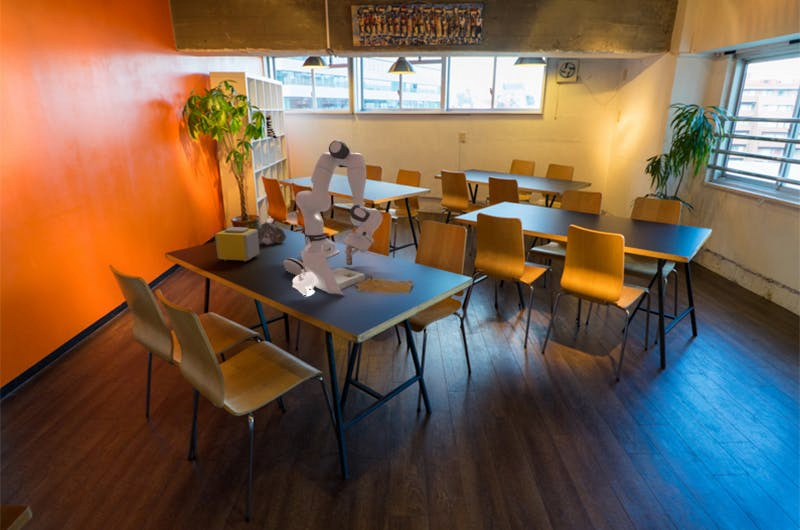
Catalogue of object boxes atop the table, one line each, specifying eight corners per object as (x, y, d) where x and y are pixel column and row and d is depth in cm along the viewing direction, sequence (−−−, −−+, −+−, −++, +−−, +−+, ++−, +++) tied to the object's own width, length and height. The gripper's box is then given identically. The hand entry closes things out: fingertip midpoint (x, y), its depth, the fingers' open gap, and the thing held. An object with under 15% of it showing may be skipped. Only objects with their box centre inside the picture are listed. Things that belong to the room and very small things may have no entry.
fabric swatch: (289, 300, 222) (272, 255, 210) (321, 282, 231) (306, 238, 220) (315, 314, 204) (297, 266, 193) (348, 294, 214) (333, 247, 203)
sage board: (340, 272, 246) (340, 267, 245) (364, 279, 236) (364, 274, 235) (315, 281, 233) (314, 275, 232) (340, 289, 222) (339, 283, 221)
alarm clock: (261, 256, 276) (258, 226, 270) (248, 264, 261) (245, 232, 255) (231, 254, 279) (228, 225, 273) (217, 262, 264) (213, 231, 259)
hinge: (311, 276, 241) (305, 260, 236) (305, 280, 238) (298, 265, 233) (293, 269, 252) (287, 254, 247) (287, 273, 249) (280, 258, 244)
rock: (267, 221, 292) (265, 212, 304) (252, 237, 294) (251, 228, 306) (289, 237, 302) (286, 228, 314) (275, 253, 304) (273, 243, 316)
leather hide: (346, 292, 223) (346, 283, 221) (381, 274, 242) (381, 266, 239) (391, 313, 207) (391, 303, 205) (425, 292, 226) (426, 283, 223)
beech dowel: (349, 262, 256) (348, 244, 253) (353, 264, 254) (353, 245, 251) (345, 264, 253) (344, 245, 250) (349, 265, 251) (348, 246, 248)
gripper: (349, 227, 260) (335, 246, 258) (369, 234, 245) (354, 254, 242) (356, 234, 264) (342, 253, 261) (376, 241, 249) (361, 261, 246)
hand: (348, 254), depth 252 cm, fingers closed on beech dowel, 3 cm apart
